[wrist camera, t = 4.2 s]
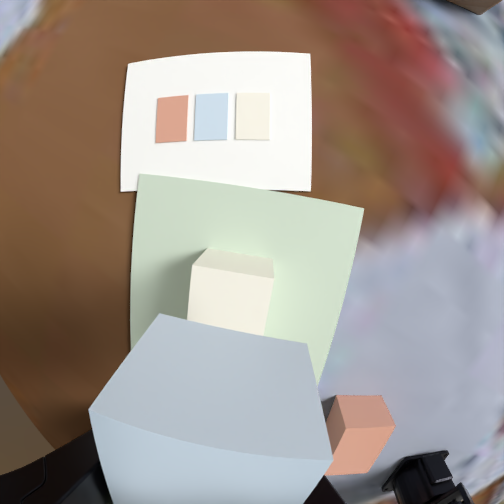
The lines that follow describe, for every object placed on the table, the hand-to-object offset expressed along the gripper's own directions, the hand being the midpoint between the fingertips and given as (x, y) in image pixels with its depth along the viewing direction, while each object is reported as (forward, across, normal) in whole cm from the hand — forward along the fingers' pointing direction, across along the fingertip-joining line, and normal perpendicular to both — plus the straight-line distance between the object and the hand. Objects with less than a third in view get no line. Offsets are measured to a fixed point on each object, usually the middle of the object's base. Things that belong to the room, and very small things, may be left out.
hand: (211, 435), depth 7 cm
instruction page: (+12, +4, -10) cm, 17 cm away
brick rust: (+12, -11, +10) cm, 19 cm away
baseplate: (+12, 0, 0) cm, 12 cm away
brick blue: (+1, 0, 0) cm, 1 cm away
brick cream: (+12, 0, 0) cm, 12 cm away
